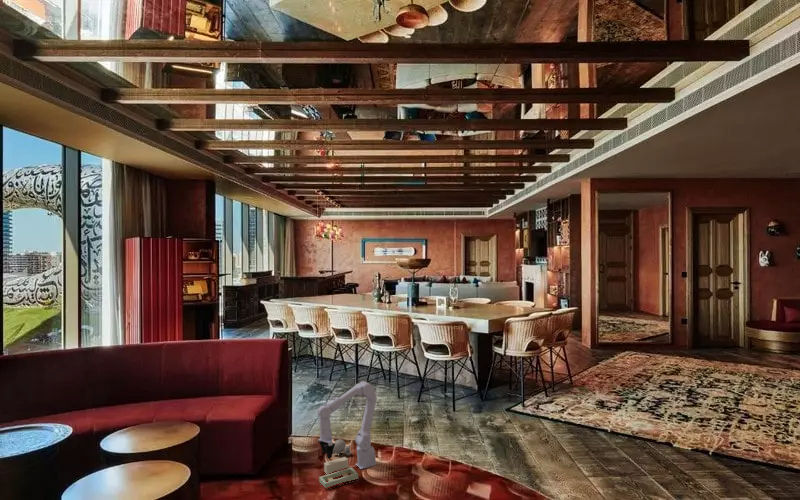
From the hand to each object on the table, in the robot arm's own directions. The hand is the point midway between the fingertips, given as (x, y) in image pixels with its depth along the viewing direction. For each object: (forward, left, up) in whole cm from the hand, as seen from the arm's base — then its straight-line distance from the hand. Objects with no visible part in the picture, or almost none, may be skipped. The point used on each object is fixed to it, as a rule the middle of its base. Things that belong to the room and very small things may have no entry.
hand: (327, 455), depth 226 cm
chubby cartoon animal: (-15, -19, -10) cm, 26 cm away
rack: (-2, +11, -10) cm, 15 cm away
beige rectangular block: (-5, -1, -10) cm, 11 cm away
